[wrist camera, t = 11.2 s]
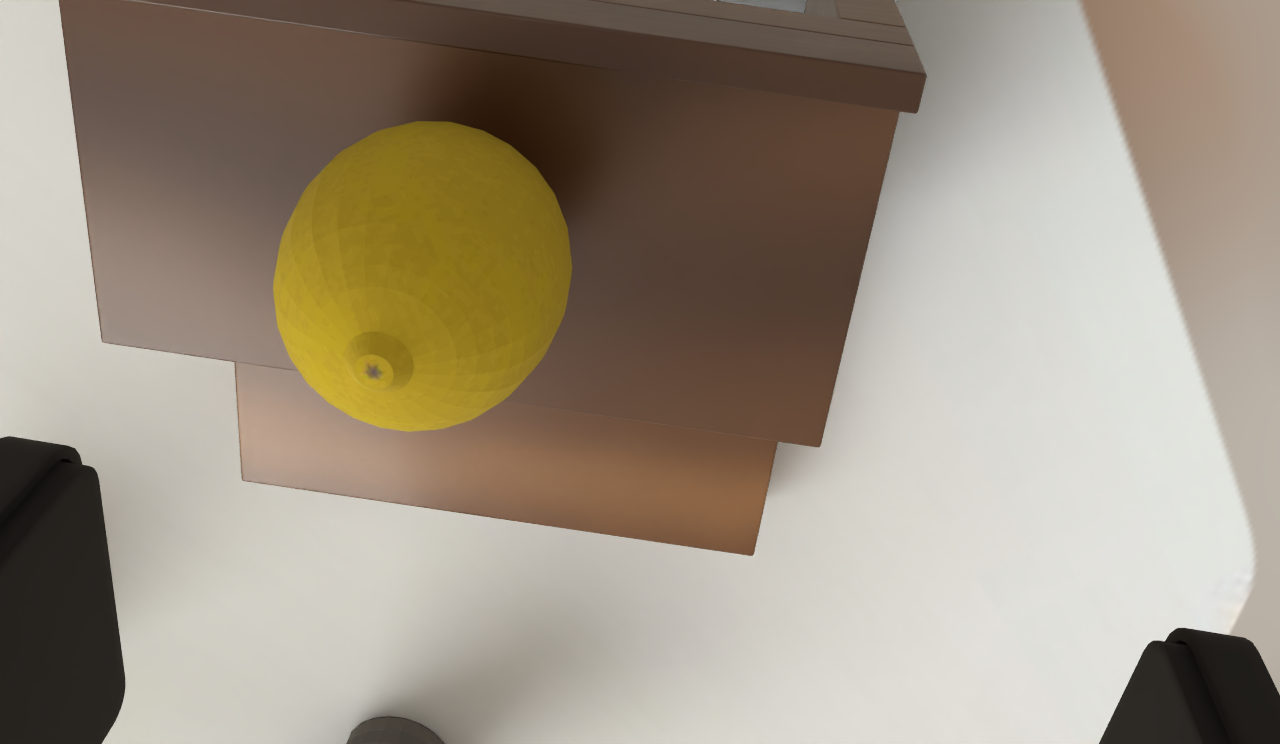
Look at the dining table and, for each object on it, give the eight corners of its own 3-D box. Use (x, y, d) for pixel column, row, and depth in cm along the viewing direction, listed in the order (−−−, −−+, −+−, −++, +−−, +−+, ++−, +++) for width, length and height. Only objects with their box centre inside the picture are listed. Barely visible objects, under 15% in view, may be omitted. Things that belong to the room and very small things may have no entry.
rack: (244, -147, 34) (-6, -59, 23) (871, -58, 34) (928, 74, 23) (271, 434, 44) (106, 691, 33) (753, 505, 44) (752, 788, 33)
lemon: (642, 223, 27) (603, 413, 20) (458, 344, 29) (365, 554, 22) (484, 20, 25) (380, 153, 18) (298, 165, 27) (141, 334, 20)
